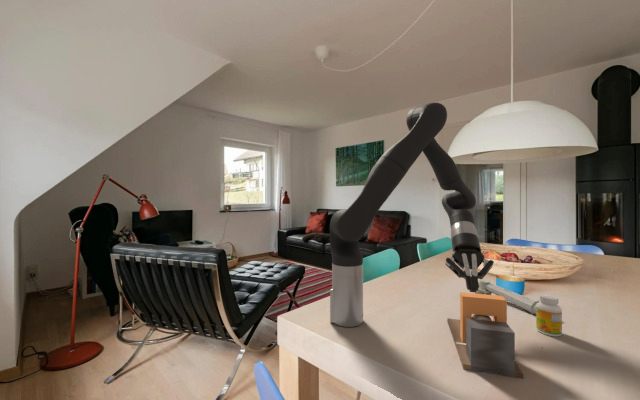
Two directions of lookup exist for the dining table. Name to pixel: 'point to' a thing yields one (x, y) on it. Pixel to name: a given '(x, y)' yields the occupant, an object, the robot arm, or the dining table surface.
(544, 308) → the supplement bottle
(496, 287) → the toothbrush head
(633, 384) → the dining table surface
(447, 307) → the dining table surface
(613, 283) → the dining table surface
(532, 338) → the dining table surface
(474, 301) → the collar
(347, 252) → the robot arm
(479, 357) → the pipe stand
